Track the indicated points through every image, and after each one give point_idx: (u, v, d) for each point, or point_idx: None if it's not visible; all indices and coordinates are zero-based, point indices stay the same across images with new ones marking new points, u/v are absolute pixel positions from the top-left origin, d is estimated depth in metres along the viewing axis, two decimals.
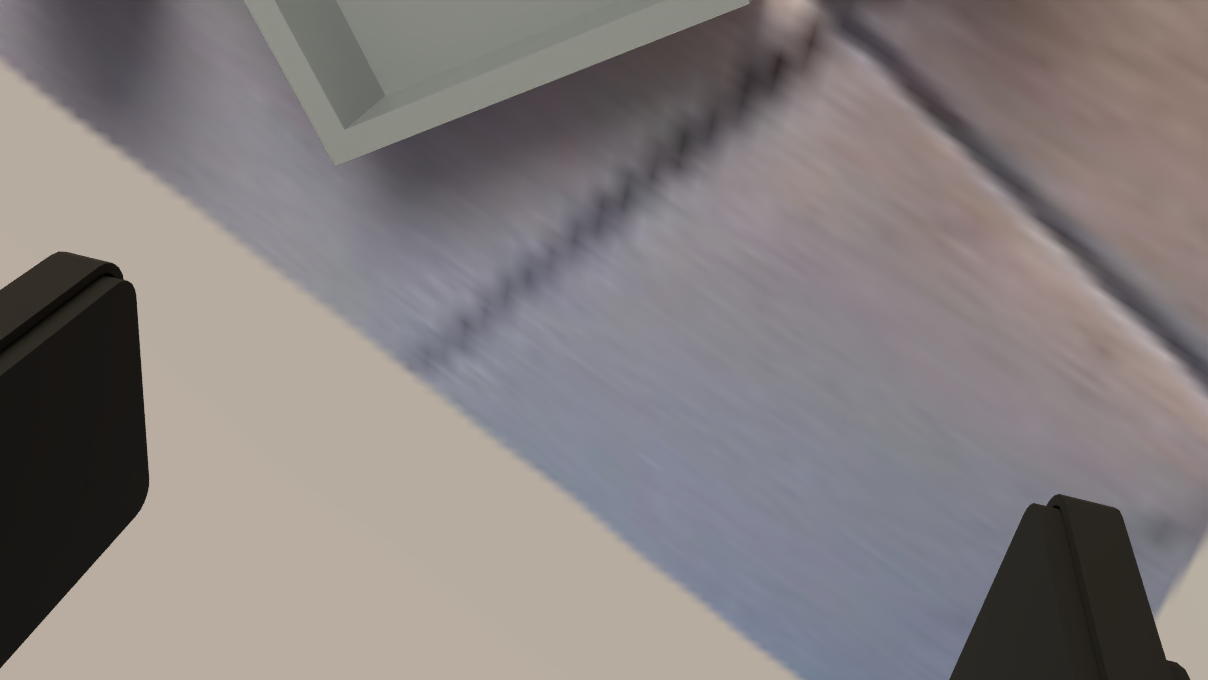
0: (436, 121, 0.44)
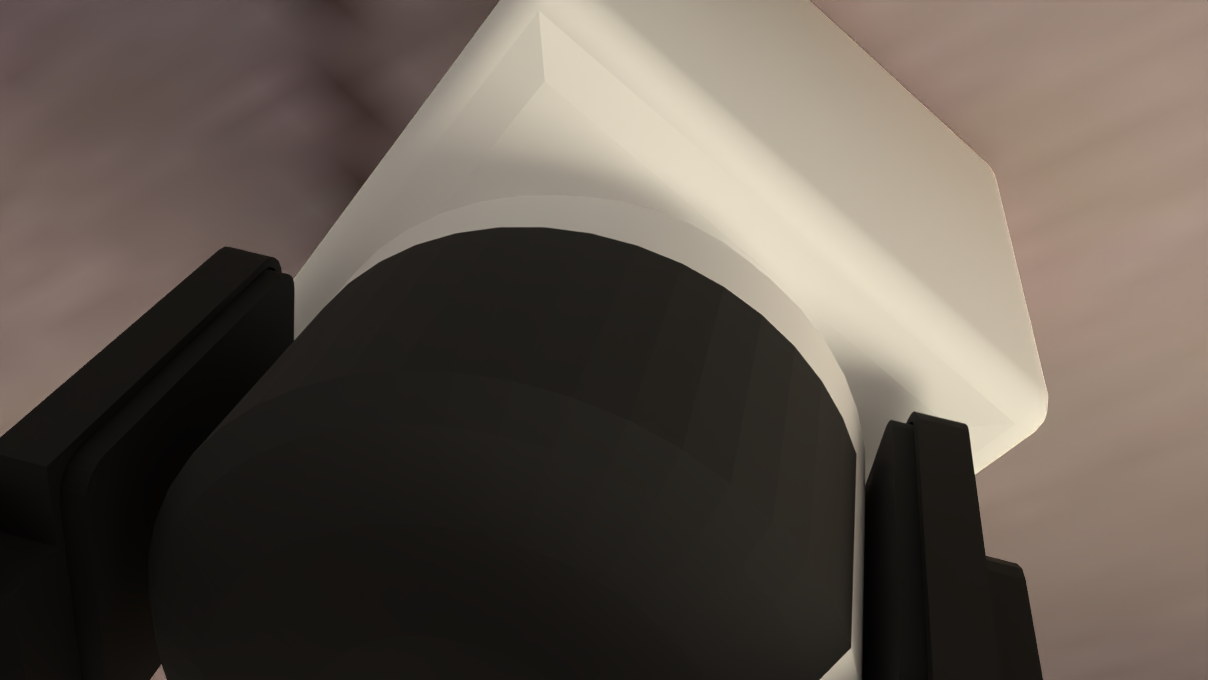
0: None
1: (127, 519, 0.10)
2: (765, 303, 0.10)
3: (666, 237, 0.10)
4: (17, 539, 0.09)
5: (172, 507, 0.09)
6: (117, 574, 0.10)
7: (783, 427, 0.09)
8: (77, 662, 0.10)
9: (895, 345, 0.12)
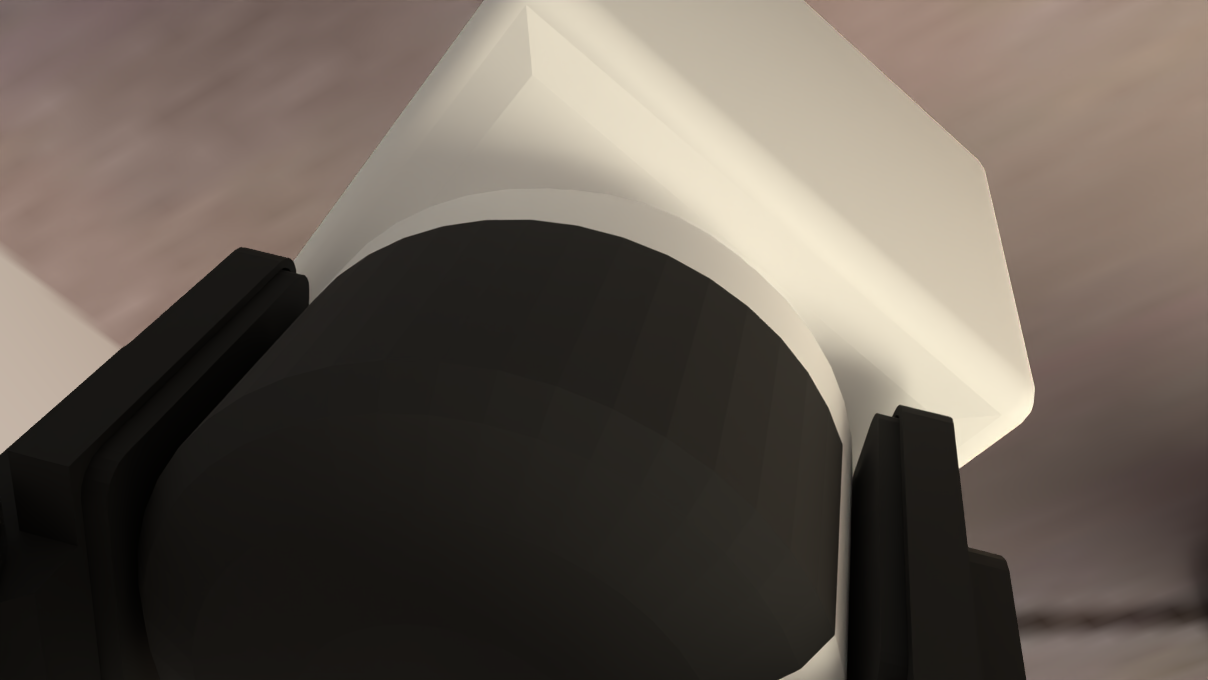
0: None
1: None
2: (752, 294, 0.10)
3: (653, 229, 0.10)
4: (38, 538, 0.09)
5: (161, 497, 0.09)
6: (136, 573, 0.10)
7: (768, 417, 0.09)
8: (96, 661, 0.10)
9: (882, 338, 0.12)
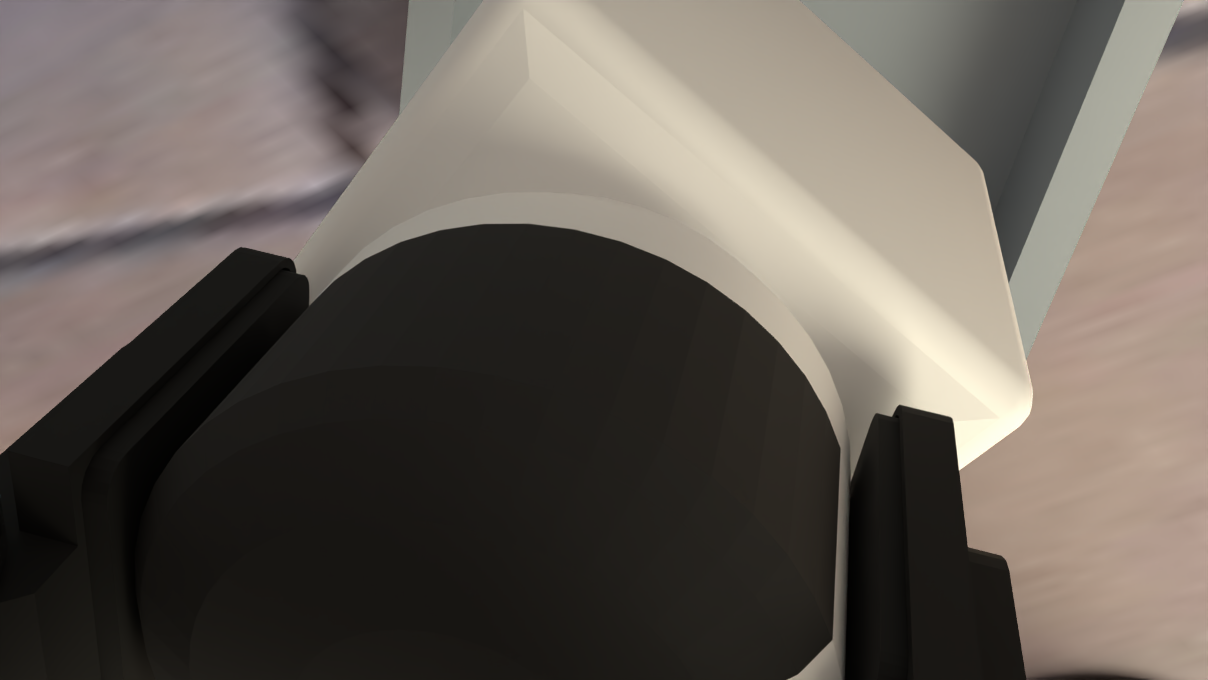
0: None
1: None
2: (750, 298, 0.10)
3: (650, 233, 0.10)
4: (38, 539, 0.09)
5: (157, 504, 0.09)
6: None
7: (764, 422, 0.09)
8: (96, 661, 0.10)
9: (879, 340, 0.12)
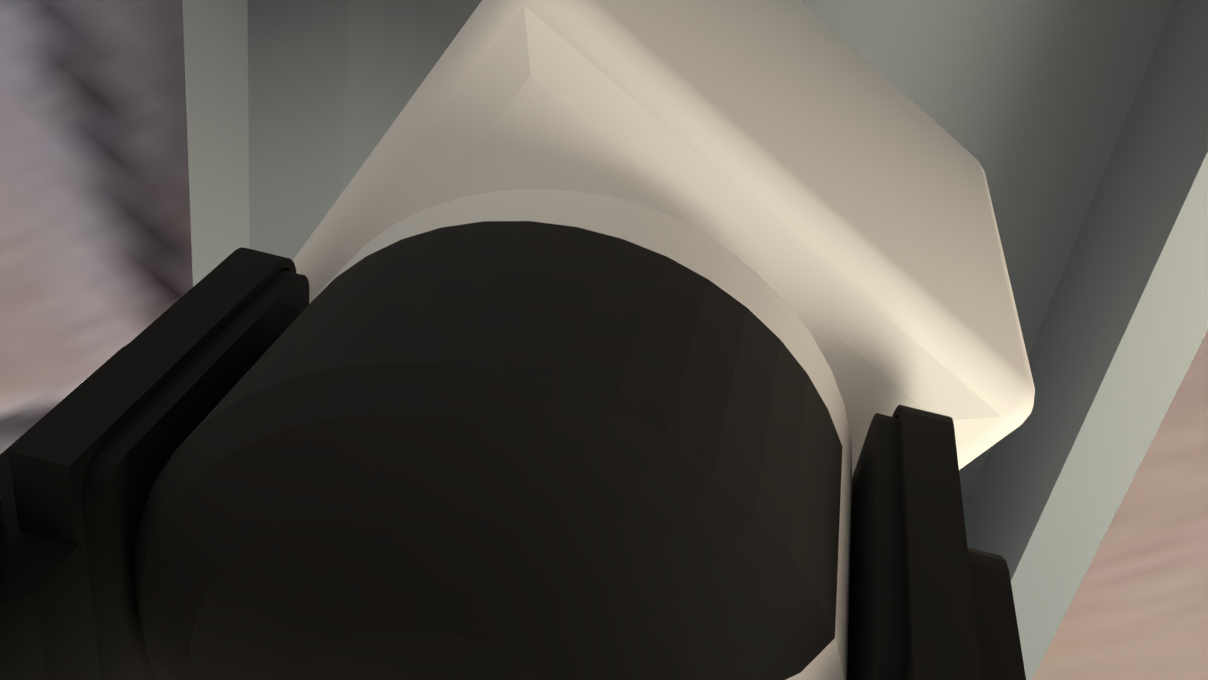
0: None
1: None
2: (750, 296, 0.10)
3: (651, 231, 0.10)
4: (39, 539, 0.09)
5: (159, 501, 0.09)
6: None
7: (767, 419, 0.09)
8: (97, 661, 0.10)
9: (880, 339, 0.12)
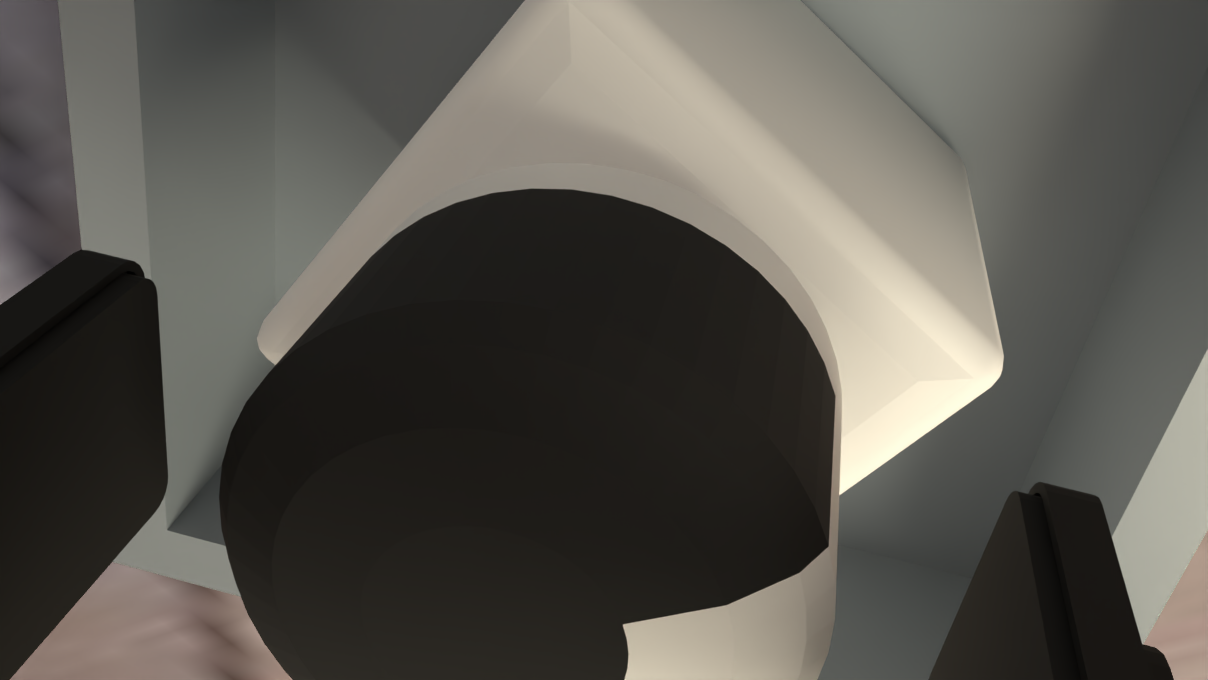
0: None
1: None
2: (760, 261, 0.12)
3: (676, 202, 0.12)
4: None
5: (250, 417, 0.10)
6: None
7: (775, 363, 0.10)
8: None
9: (871, 306, 0.13)
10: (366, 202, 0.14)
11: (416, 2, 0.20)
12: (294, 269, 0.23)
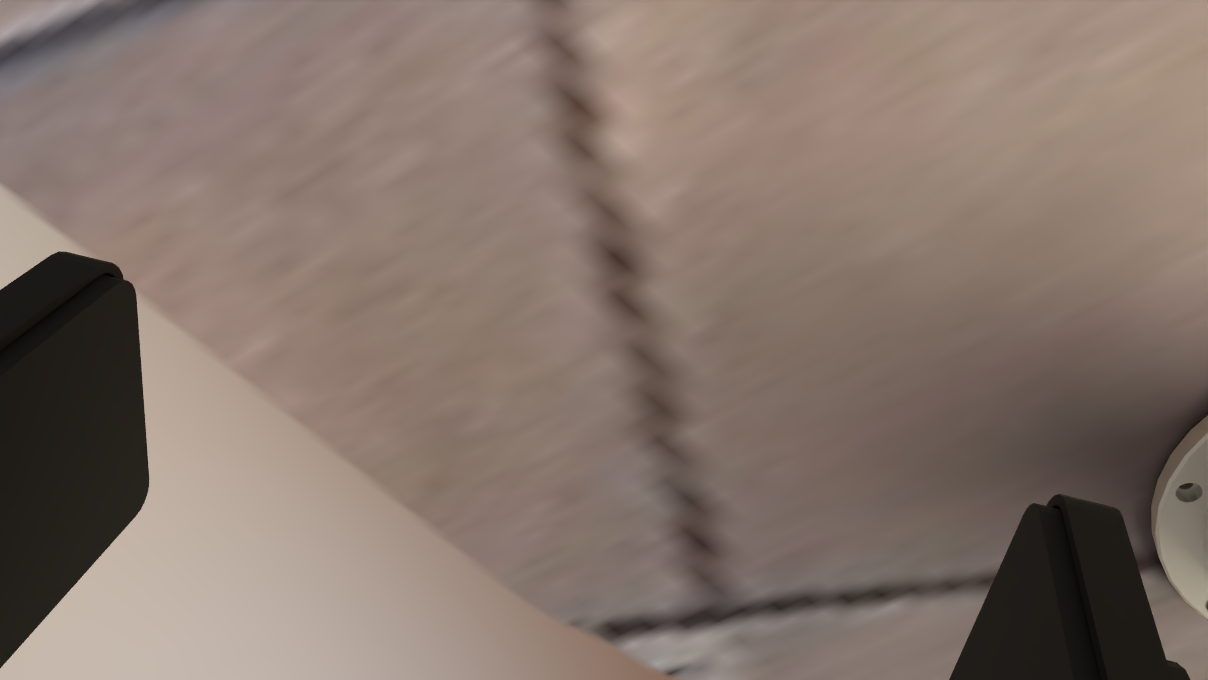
0: None
1: None
2: None
3: None
4: None
5: None
6: None
7: None
8: None
9: None
10: None
11: None
12: None
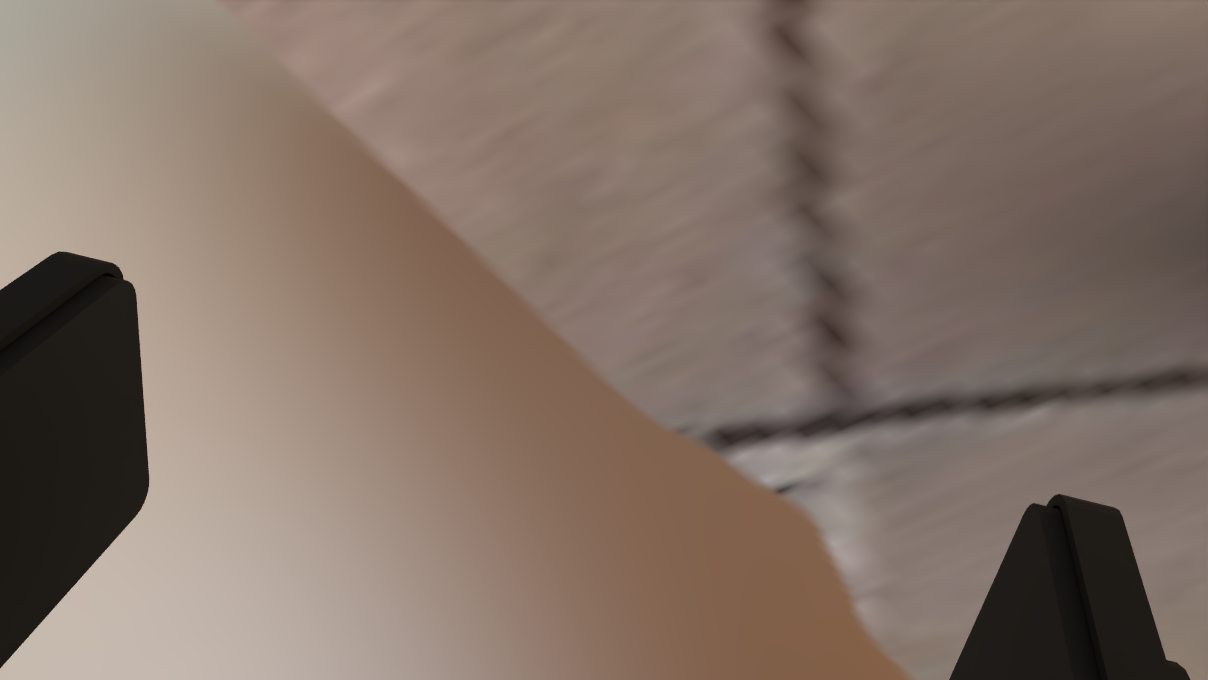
0: None
1: None
2: None
3: None
4: None
5: None
6: None
7: None
8: None
9: None
10: None
11: None
12: None
